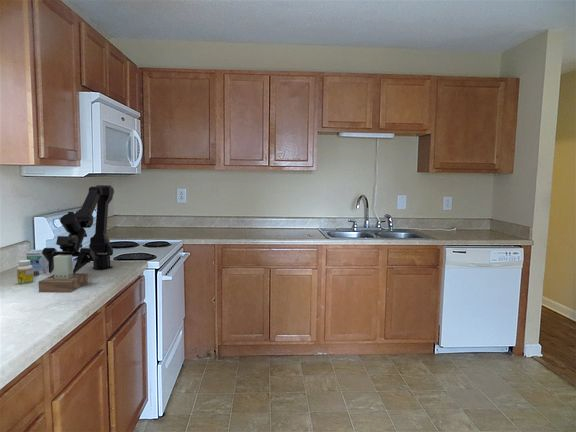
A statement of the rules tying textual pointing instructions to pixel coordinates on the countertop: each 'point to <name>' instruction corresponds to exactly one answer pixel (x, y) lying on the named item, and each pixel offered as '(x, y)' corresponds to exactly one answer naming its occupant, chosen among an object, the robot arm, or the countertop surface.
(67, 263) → the stub
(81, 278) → the brown stepped stand
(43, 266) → the light bulb box
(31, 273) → the supplement bottle
